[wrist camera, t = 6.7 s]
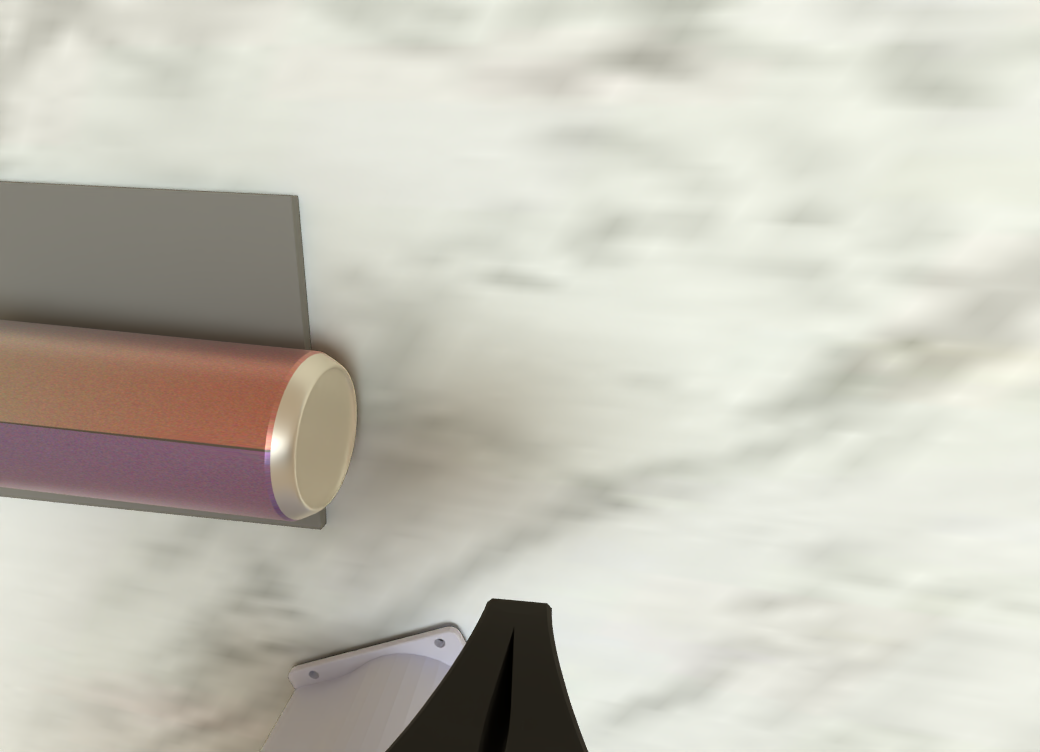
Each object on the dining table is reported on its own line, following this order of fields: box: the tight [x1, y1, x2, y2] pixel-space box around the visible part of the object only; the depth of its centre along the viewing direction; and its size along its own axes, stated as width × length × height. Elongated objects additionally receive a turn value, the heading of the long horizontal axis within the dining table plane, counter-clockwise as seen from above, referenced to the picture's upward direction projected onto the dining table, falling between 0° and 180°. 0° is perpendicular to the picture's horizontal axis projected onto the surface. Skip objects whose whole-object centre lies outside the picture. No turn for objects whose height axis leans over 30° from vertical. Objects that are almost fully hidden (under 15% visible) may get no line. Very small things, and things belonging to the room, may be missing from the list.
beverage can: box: [0, 320, 357, 521], centre depth 20 cm, size 6×6×15 cm
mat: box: [0, 181, 326, 530], centre depth 23 cm, size 18×14×1 cm
